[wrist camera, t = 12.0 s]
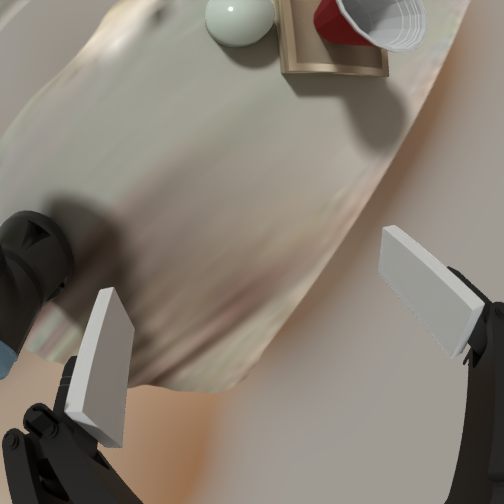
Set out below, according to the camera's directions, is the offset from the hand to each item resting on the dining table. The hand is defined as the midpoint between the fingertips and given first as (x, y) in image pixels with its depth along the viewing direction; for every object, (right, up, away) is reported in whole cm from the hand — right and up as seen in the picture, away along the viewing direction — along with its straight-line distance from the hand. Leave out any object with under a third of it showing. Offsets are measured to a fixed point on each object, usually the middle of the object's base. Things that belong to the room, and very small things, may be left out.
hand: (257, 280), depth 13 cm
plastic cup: (+10, +29, +13) cm, 34 cm away
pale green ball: (-2, +30, +15) cm, 34 cm away
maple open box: (+10, +31, +16) cm, 37 cm away
